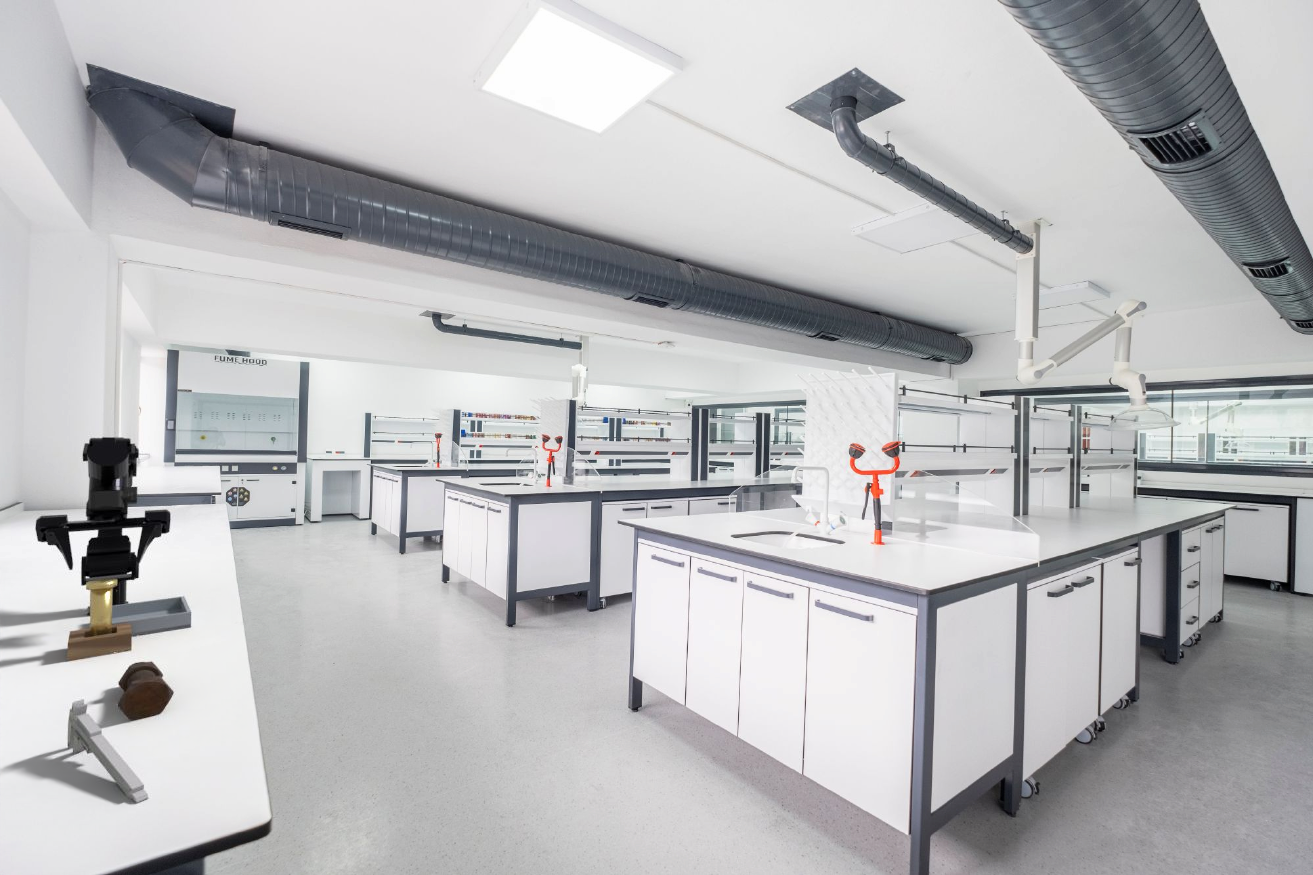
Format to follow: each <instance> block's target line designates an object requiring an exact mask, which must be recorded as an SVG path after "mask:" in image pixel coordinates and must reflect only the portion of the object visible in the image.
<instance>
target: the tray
mask: <svg viewBox="0 0 1313 875" xmlns="http://www.w3.org/2000/svg"><path fill="white" fill-rule="evenodd" d="M129 622H131V631H132V636H133V637H138V636H137V635H139V636H143V635H144V636H145V635H151V633H152V634H156V633H162V632H170V631H176V630H182V629H187V628H188V629H189V628H192V611H191V608H190V606H189V604H188V602H187V599H186V598H185V596H184V595H183V596H182V595H181V596H176V597H175V596H174V597H168V598H167V597H166V598H162V599H161V598H159V599H153V600H145V601H137V602H131V603H130V602H128V604H121V605H114V606H112V625H116V624H122V623H129Z"/></svg>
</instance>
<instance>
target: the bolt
mask: <svg viewBox="0 0 1313 875" xmlns="http://www.w3.org/2000/svg"><path fill="white" fill-rule="evenodd" d="M163 677H164V674H163V673H162V671H161V670H160V668H159V667H158V666H157V665H156V664H155V663H154V662H153V660H152V661H139V662H134V663H132V664H130V665H129V666H128V667H127V669H125V672H124V673H123V674H122V675H121V677H120V679H119V681H118V682H117V684H118V686H119V688H120V689H121V690H122V691H123V692H124V693H123V694H122V696H121V697H120V698H119V700H118V701H117V707H118V708H119V710H120V711H121V712H122V713H123V715H125V717H127V719H128V720H130V721H137V720H143V719H147V718H151V717H154V716H158V715H161V714H162V713H163V711H164V710H165V709H166V707H167V706H168V704H169V703H170V702H171V699H172V697H173V696H174V695H175V692H174V690H173V689H172V688H171V687H170V685H168V683H167V682H166V681H165V680H164V679H163Z"/></svg>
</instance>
